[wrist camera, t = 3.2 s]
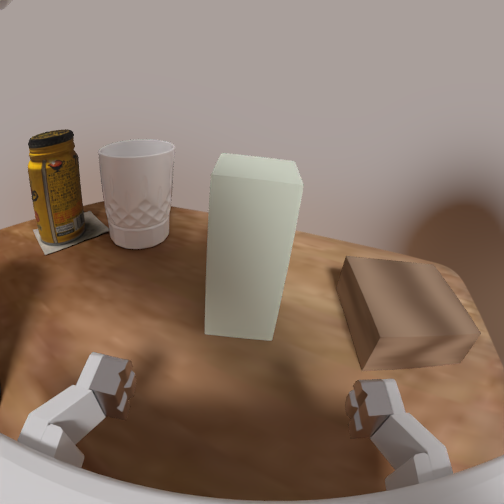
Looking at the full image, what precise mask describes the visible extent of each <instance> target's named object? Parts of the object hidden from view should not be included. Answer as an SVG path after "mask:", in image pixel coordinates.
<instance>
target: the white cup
mask: <svg viewBox="0 0 504 504" xmlns="http://www.w3.org/2000/svg"><path fill="white" fill-rule="evenodd" d="M98 152H99V163H100V173H101V182H102V191H103V198H104V202H105V211H106V214H107V218H108V224H109V231H110V237H111V239H112V240H113V242H114V243H115V244H116V245H118V246H121V247H124V248H127V249H143V248H149V247H153V246H155V245H157V244H159V243H161V242H163V241H164V240H165V239H166V237H167V236H168V235H169V213H170V210H171V197H172V183H173V167H174V166H173V165H174V154H175V145H174V144H172V143H170V142H166V141H162V140H152V139H138V140H127V141H120V142H115V143H111V144H108V145H106V146H104V147H102V148H100V149H99V151H98Z"/></svg>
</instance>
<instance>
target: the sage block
mask: <svg viewBox="0 0 504 504" xmlns="http://www.w3.org/2000/svg"><path fill="white" fill-rule="evenodd" d="M303 186H304V184H303V182H302V179H301V176H300V174H299V171H298V169H297V166H296V163H295V162H294V161H288V160H280V159H273V158H265V157H256V156H247V155H237V154H227V153H222V154H221V155H220V157H219V159H218V161H217V163H216V166H215V167H214V170H213V172H212V174H211V182H210V198H209V217H208V237H207V262H206V295H205V334H208V335H217V336H226V337H235V338H245V339H256V340H268V341H272V339H273V334H274V330H275V325H276V321H277V316H278V312H279V307H280V303H281V298H282V293H283V289H284V284H285V279H286V274H287V270H288V265H289V260H290V255H291V250H292V245H293V240H294V235H295V230H296V224H297V219H298V214H299V209H300V203H301V198H302V193H303Z"/></svg>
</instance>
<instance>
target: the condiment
mask: <svg viewBox="0 0 504 504" xmlns="http://www.w3.org/2000/svg"><path fill="white" fill-rule="evenodd" d="M73 136H74V134H73V132H72V131H71V130H56V131H50V132H45V133H42V134H38V135H36V136H33V137H32V138H30V140H29V143H28V145H29V149H30V150H29V151H30V153H29V156H30V159H31V160H30V162H29V164H28V173H29V180H30V187H31V193H32V200H33V207H34V211H35V218H36V221H37V226H38V229H36V230H33V231H34V233H35V236H36V238H37V240H38V242H39V244H40V246H41V248H42V250H43V252H44V254H45V255H47V254H49V253H52V252H55V251H58V250H61V249H63V248H67V247H70V246H71V245H75V244H77V243H79V242H81V241H83V240H85V239H89V238H92V237H95V236H98V235H100V234H102V233H104V232H108V231H109V228H108V227H106V226H105V225H104V224H103V223H102V222H101V221H100V220H98V218H97V217H96V216H94V215H93V213H92V212H91V211H88V212H84V211H83V204H82V195H81V185H80V174H79V162H78V155H77V154H76V152H75V151H74V147H75V145H74V142H73Z"/></svg>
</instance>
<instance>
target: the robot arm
mask: <svg viewBox="0 0 504 504" xmlns="http://www.w3.org/2000/svg"><path fill="white" fill-rule="evenodd" d="M11 1H12V0H0V10H2V9H4V8H5V7H6V6H7V5H8V4H9V3H10V2H11ZM132 367H133V365H132V362H131V361H130V360H126V359H121V358H117V357H112V356H108V355H104V354H100V353H95V352H92V353H91V354H90V356H89V358H88V360H87V362H86V364H85V366H84V368H83V371H82V373H81V375H80V377H79V379H78V382H77V384H76V386H75V385H71V386H70V387H68V388H67V389H65V390H64V391H62V392H61V393H59V394H58V395H56V396H55V397H53V398H52V399H51V400H49V401H48V402H46V403H45V404H43V405H42V406H40V407H39V408H37V409H36V410H34V411H33V412H31V413H30V414H29V415H28V417H27V420H26V422H25V424H24V426H23V429H22V431H21V433H20V436H19V438H18V441H16V440H14V439H12V438H10V437H8V436H6V435H4V434H2V433H0V504H504V455H501V456H499V457H497V458H494V459H492V460H490V461H487V462H485V463H482V464H479V465H477V466H474V467H471V468H469V469H466V470H463V471H460V472H457V473H454V474H453V471H452V467H451V464H450V460H449V457H448V453H447V450H446V447H445V446H444V445H443V444H442V443H441V442H440V441H439V440H438V439H436V438H435V437H434V436H433V435H432V434H431V433H430V432H429V431H428V430H427V429H426V428H425V427H424V426H422V425H421V424H420V423H419V422H418V421H417V420H416V419H415V418H414V417H413V416H412V415H411V414H410V413H406V412H405V409H404V406H403V402H402V399H401V396H400V393H399V390H398V387H397V384H396V381H395V380H394V379H372V380H357V381H356V382H355V383H354V385H353V387H354V390H352V391H350V392H349V393H348V395H347V397H346V402H345V410H346V415H347V416H348V417H349V418H350V419H351V420H350V422H349V423H348V428H349V433H350V439H355V438H370V439H371V440H372V442H373V443H374V444H375V445H376V447H377V448H378V449H379V450H380V452H381V453H382V454H383V455H384V457H385V458H386V459H387V460H388V462H389V463H390V464H391V465H392V467H393V468H394V469H395V471H394V472H393V473H391V474H390V475H388V476H387V477H386V478H385V485H386V491H382V492H377V493H371V494H364V495H357V496H350V497H341V498H331V499H319V500H300V501H253V500H235V499H222V498H212V497H203V496H196V495H189V494H182V493H176V492H170V491H165V490H160V489H155V488H150V487H145V486H141V485H137V484H133V483H129V482H125V481H121V480H117V479H114V478H110V477H107V476H104V475H100V474H97V473H94V472H91V471H88V470H85V469H82V464H83V461H84V455H83V453H82V452H81V451H80V450H79V449H78V448H77V446H76V444H77V443H78V442H79V441H80V440H81V439H82V438H83V437H84V436H86V435H87V434H88V433H89V432H90V431H91V430H92V429H93V428H94V427H95V426H97V425H98V424H99V423H100V422H101V421H102V420H103V419H104V418H105V416H108V417H112V418H116V419H121V420H125V421H126V420H127V416H128V413H129V410H130V407H131V406H130V403H129V401H128V400H130V399H131V398H132V397H134V393H135V389H136V376H135V373H134V372H133V371H132Z"/></svg>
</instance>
